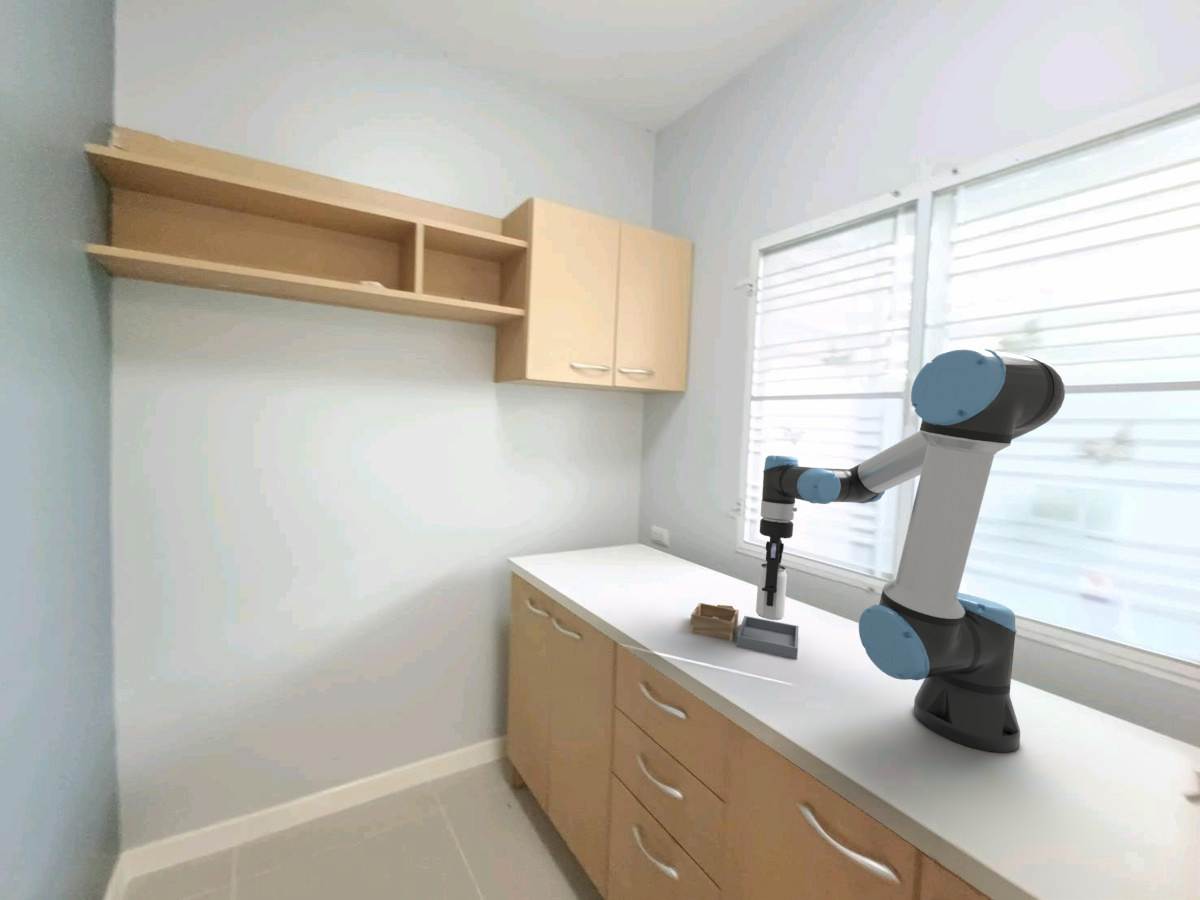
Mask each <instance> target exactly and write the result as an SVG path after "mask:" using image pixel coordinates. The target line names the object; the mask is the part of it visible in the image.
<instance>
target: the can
mask: <svg viewBox="0 0 1200 900" xmlns="http://www.w3.org/2000/svg"><path fill="white" fill-rule="evenodd" d="M766 569H767V563H761V565H760V568H759V571H758V578H757V579H758V580H757V593H756V604H755V605H756V606H755V612H756V614H757V616H758V617H761V618H763V607H764V593H765V591H762V588H764V587H765V581H766ZM787 578H788V575H787V572H786V567H785V566H783V565H779V566H778V577H777V598H776V611H775V620H774V621H779V620H782V619H783V618H784V617H785V608H786V607H785V606H786V594H787V583H788V582H787V581H788V579H787ZM765 620H768V619H767V618H765ZM769 621H773V620H772V619H769Z"/></svg>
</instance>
